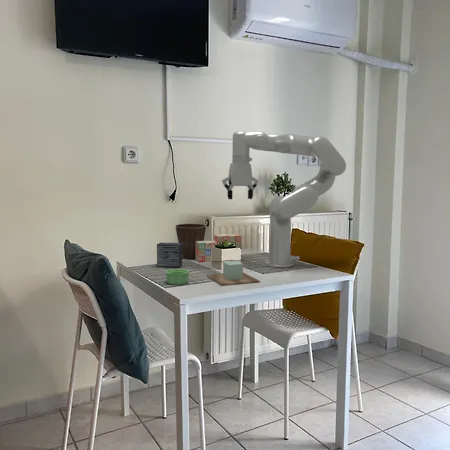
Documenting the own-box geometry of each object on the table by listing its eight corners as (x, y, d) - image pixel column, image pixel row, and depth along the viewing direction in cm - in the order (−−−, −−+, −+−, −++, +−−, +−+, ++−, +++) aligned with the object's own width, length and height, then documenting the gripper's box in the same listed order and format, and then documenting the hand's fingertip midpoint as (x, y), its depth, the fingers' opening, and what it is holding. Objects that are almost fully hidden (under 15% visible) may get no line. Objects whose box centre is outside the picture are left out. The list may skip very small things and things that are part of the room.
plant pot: (205, 260, 217) (205, 227, 215) (174, 260, 216) (174, 227, 214) (206, 254, 231) (206, 223, 229) (176, 254, 231) (176, 223, 229)
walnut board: (242, 273, 191) (242, 272, 191) (259, 282, 176) (259, 280, 176) (206, 276, 185) (207, 275, 185) (221, 285, 170) (221, 284, 170)
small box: (182, 265, 206) (182, 242, 205) (180, 268, 200) (180, 244, 198) (160, 264, 207) (159, 241, 206) (156, 267, 201) (156, 244, 199)
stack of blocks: (198, 262, 213) (198, 236, 211) (195, 260, 218) (195, 234, 217) (241, 260, 219) (241, 235, 217) (237, 258, 225) (237, 233, 223)
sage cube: (236, 275, 184) (236, 261, 183) (242, 278, 179) (243, 263, 178) (223, 276, 182) (223, 262, 181) (228, 280, 176) (228, 265, 176)
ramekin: (183, 278, 181) (183, 268, 180) (192, 284, 173) (192, 272, 172) (162, 281, 177) (162, 269, 176) (170, 286, 169) (170, 274, 168)
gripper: (254, 160, 207) (254, 198, 209) (219, 160, 201) (219, 198, 203) (262, 160, 200) (261, 199, 202) (225, 159, 194) (225, 199, 196)
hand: (240, 199), depth 203 cm, fingers open, 9 cm apart
